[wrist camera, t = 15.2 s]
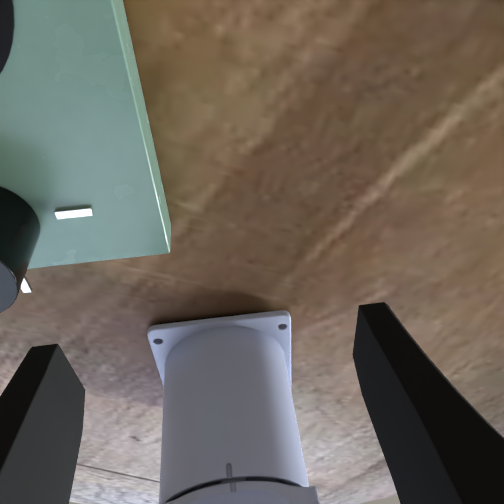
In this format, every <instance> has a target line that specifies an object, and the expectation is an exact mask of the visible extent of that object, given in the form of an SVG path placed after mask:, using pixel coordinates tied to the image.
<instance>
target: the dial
mask: <svg viewBox="0 0 504 504" xmlns="http://www.w3.org/2000/svg"><path fill="white" fill-rule="evenodd" d="M39 236H40V222H39V219H38V217H37V215H36V213H35V211H34V210H33V208H32V207H31V206H30V205H29V204H28V203H27V202H26V201H25V200H24V199H23V198H22V197H20V196H19V195H17V194H16V193H14V192H12V191H10V190H8V189H6V188H3V187H1V186H0V313H1V312H3V311H4V310H6V309H7V308H9V307H10V306H11V305H12V304H13V303H14V301H15V300H16V298H17V295H18V293H19V290H20V287H21V285H22V282H23V279H24V276H25V274H26V271H27V268H28V266H29V263H30V260H31V258H32V255H33V252H34V249H35V247H36V244H37V241H38V239H39Z"/></svg>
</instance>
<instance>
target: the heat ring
mask: <svg viewBox="0 0 504 504" xmlns="http://www.w3.org/2000/svg"><path fill="white" fill-rule="evenodd" d="M14 28H15V18H14V4H13V0H0V74H1V72H2V71H3V69H4V67H5V65H6V62H7V60H8V58H9V55H10V52H11V48H12V44H13V38H14Z"/></svg>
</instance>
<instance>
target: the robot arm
mask: <svg viewBox="0 0 504 504" xmlns="http://www.w3.org/2000/svg"><path fill="white" fill-rule="evenodd" d="M147 337H148V340H149V343H150V346H151V349H152V352H153V356H154V359H155V362H156V365H157V368H158V371H159V374H160V377H161V381H162V384H163V387H164V397H163V421H162V446H161V470H160V494H159V504H320V501H319V496H318V491H317V487H315V486H311V487H309V484H308V479H307V473H306V468H305V463H304V458H303V452H302V447H301V442H300V436H299V431H298V426H297V420H296V415H295V410H294V405H293V399H292V394H291V317H290V313H289V312H288V311H285V310H279V311H270V312H262V313H253V314H245V315H236V316H228V317H219V318H210V319H202V320H193V321H185V322H176V323H168V324H159V325H153V326H151V327H149V328H148V331H147ZM157 338H158V339H157ZM353 359H354V363H355V367H356V372H357V376H358V380H359V384H360V388H361V392H362V396H363V398H364V401H365V404H366V407H367V410H368V412H369V415H370V418H371V421H372V424H373V426H374V429H375V432H376V435H377V437H378V440H379V443H380V446H381V448H382V451H383V454H384V457H385V459H386V462H387V465H388V468H389V470H390V473H391V476H392V479H393V482H394V485H395V488H396V491H397V494H398V497H399V500H400V503H401V504H504V437H503V436H502V435H501V434H500V433H499V432H498V431H496V430H495V429H494V428H493V427H492V426H491V425H490V424H489V423H488V422H487V421H486V420H485V419H484V418H483V417H482V416H481V415H480V414H479V413H478V412H477V411H476V409H475V408H474V407H473V406H472V405H471V404H470V403H469V402H468V401H467V400H466V399H465V398H464V397H463V396H462V395H461V394H460V393H459V392H458V390H457V389H456V388H455V387H454V386H453V385H452V384H451V383H450V382H449V380H448V379H447V378H446V377H445V376H444V375H443V374H442V372H441V371H440V370H439V369H438V368H437V367H436V366H435V364H434V363H433V362H432V361H431V360H430V359H429V357H428V356H427V355H426V354H425V353H424V351H423V350H422V349H421V348H420V346H419V345H418V344H417V343H416V341H415V340H414V339H413V338H412V336H411V335H410V334H409V333H408V331H407V330H406V329H405V327H404V326H403V325H402V323H401V322H400V321H399V319H398V318H397V317H396V315H395V314H394V313H393V311H392V310H391V309H390V307H389V306H388V305H387V304H386V303H385V302H382V303H374V304H366V305H359V309H358V317H357V325H356V333H355V340H354V348H353ZM84 401H85V389H84V387H83V385H82V384H81V382H80V380H79V379H78V377H77V375H76V373H75V372H74V370H73V368H72V367H71V365H70V363H69V362H68V360H67V358H66V357H65V355H64V353H63V351H62V350H61V348H60V346H59V345H58V344H52V345H44V346H36V347H32V348H31V349H30V350H29V352H28V353H27V355H26V356H25V358H24V360H23V361H22V363H21V364H20V366H19V368H18V369H17V371H16V372H15V374H14V376H13V377H12V379H11V380H10V382H9V384H8V385H7V387H6V388H5V390H4V391H3V393H2V395H1V396H0V504H69V499H70V494H71V489H72V484H73V479H74V474H75V469H76V463H77V458H78V453H79V447H80V442H81V436H82V430H83V417H84Z"/></svg>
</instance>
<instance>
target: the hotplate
mask: <svg viewBox="0 0 504 504" xmlns="http://www.w3.org/2000/svg"><path fill="white" fill-rule="evenodd" d="M13 4H14V18H15V28H14V38H13V44H12V48H11V52H10V55H9V58H8V60H7V62H6V65H5V67H4V69H3V71H2V72H1V74H0V186H1V187H3V188H6V189H8V190H10V191H12V192H14V193H16V194H17V195H19V196H20V197H22V198H23V199H24V200H25V201H26V202H27V203H28V204H29V205H30V206H31V207H32V208H33V210H34V211H35V213H36V215H37V217H38V219H39V222H40V236H39V239H38V241H37V244H36V247H35V249H34V252H33V255H32V258H31V260H30V263H29V266H28V268H27V269H30V268H39V267H48V266H57V265H66V264H75V263H84V262H93V261H102V260H111V259H120V258H129V257H138V256H147V255H156V254H165V253H170V240H171V222H170V218H169V213H168V208H167V204H166V199H165V194H164V190H163V185H162V180H161V176H160V171H159V167H158V162H157V157H156V153H155V148H154V143H153V139H152V134H151V129H150V125H149V120H148V115H147V111H146V106H145V102H144V97H143V92H142V88H141V83H140V78H139V74H138V69H137V64H136V60H135V55H134V50H133V46H132V41H131V37H130V32H129V27H128V23H127V18H126V13H125V9H124V4H123V0H13ZM21 289H22V291H23V293H27V292H32V288H31V286H30V284H29V282H28V280H27V278H26V276H24V279H23V282H22V285H21Z"/></svg>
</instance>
